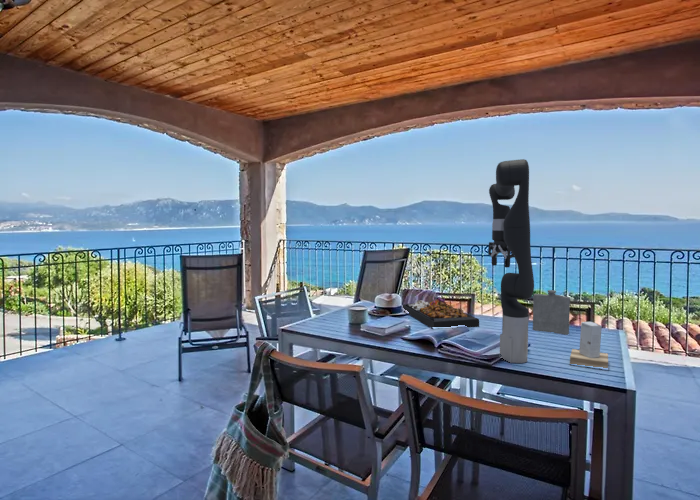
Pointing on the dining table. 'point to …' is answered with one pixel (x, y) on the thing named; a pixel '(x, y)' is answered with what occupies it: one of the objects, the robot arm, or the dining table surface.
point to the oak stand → (589, 359)
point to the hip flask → (551, 313)
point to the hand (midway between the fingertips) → (500, 266)
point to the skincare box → (590, 339)
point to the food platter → (440, 314)
